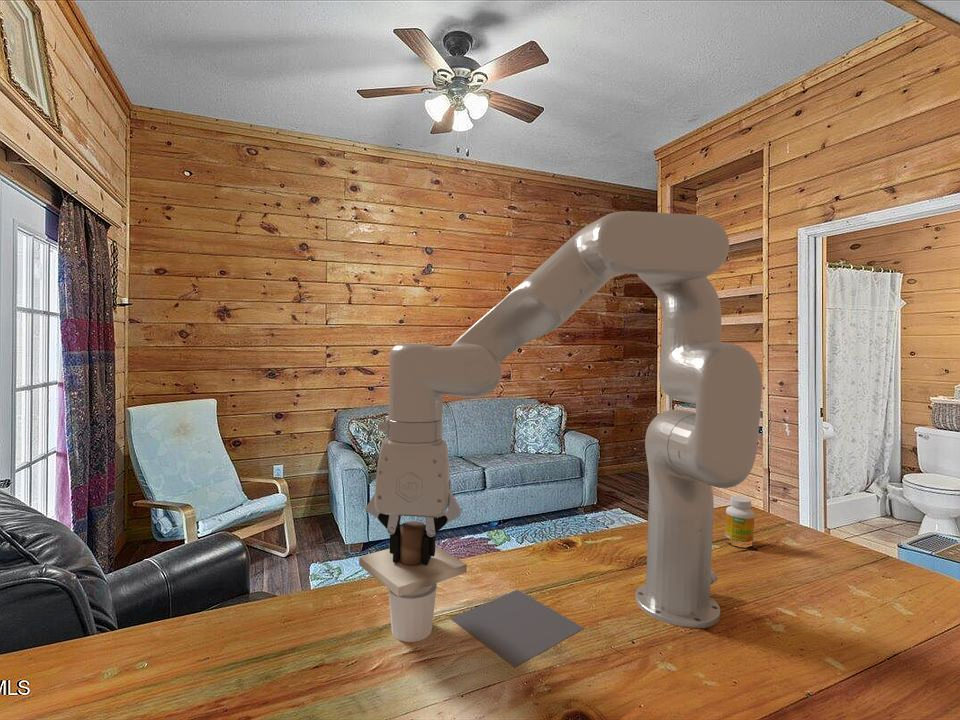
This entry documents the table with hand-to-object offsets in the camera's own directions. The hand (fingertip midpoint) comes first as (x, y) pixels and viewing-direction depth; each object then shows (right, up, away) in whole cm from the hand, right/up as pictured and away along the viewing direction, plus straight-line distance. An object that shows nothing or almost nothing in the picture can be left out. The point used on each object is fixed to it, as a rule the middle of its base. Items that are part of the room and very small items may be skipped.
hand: (412, 558), depth 70 cm
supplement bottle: (+65, -11, +35) cm, 74 cm away
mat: (+15, -11, +3) cm, 19 cm away
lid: (0, -2, 0) cm, 2 cm away
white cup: (0, -11, 0) cm, 11 cm away
